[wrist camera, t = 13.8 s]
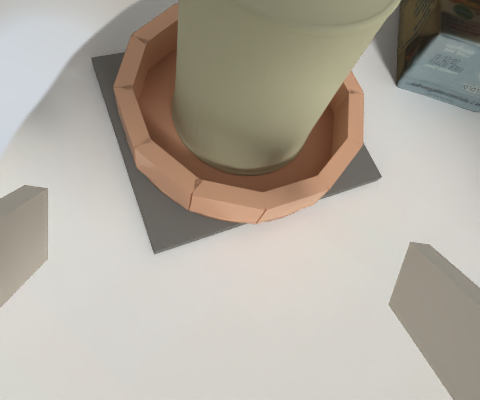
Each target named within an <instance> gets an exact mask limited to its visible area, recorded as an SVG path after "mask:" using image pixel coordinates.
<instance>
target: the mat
mask: <svg viewBox="0 0 480 400" xmlns="http://www.w3.org/2000/svg"><path fill="white" fill-rule="evenodd" d="M124 54H125V52H124V53H118V54H112V55H106V56H99V57H93V58H91V59H92V63H93V66H94V69H95V72H96V76H97V79H98V82H99V85H100V88H101V91H102V94H103V97H104V100H105V103H106V106H107V110H108V113H109V116H110V119H111V122H112V125H113V128H114V131H115V134H116V137H117V140H118V143H119V147H120V150H121V153H122V156H123V159H124V162H125V165H126V168H127V171H128V174H129V177H130V181H131V184H132V187H133V190H134V193H135V196H136V199H137V202H138V205H139V208H140V211H141V215H142V218H143V221H144V224H145V227H146V230H147V233H148V236H149V239H150V242H151V245H152V248H153V252H154V254H156V253H159V252H162V251H165V250H168V249H172V248H175V247H178V246H181V245H184V244H187V243H190V242H193V241H196V240H199V239H202V238H205V237H208V236H211V235H214V234H217V233H220V232H223V231H226V230H229V229H232V228H235V227H238V226H241V225H244V224H247V223H232V222H225V221H219V220H215V219H212V218H208V217H204V216H202V215H199V214H197V213H194V212H191V211H189V210H187V209H185V208H184V207H182V206H180V205H179V204H177V203H175V202H174V201H172V200H171V199H170V198H168V197H167V196H165V195H164V194H163V193H162V192H161V191H159V190H158V189H157V188H156V187H155V186H154V185H153V184H152V183H151V182H150V181H149V179H148V178H147V177H146V176H145V175H144V174H143V173H142V172H141V171H140V170H138V169H137V167H136V165H135V162H134V159H133V156H132V153H131V150H130V148H129V145H128V142H127V138H126V134H125V131H124V128H123V125H122V122H121V119H120V116H119V113H118V109H117V104H116V99H115V94H114V89H113V88H114V87H113V86H114V83H115V80H116V78H117V75H118V72H119V69H120V66H121V63H122V60H123V57H124ZM381 177H382V176H381V174H380V173H379V171H378V169H377V167H376V165H375V163H374V162H373V160H372V158H371V156H370V154H369V152H368V151H367V149H366V147H365V145H364V143H363V145H362V147H361V149H360V150H359V151H358V153H357V154H356V155H355V157H354V158H353V159H352V160H351V162H350V163H349V164H348V166H347V167H346V168H345V170H344V171H343V172H342V174H341V175H340V176H339V178H338V179H337V180H336V182H335V183H334V184H333V186H332V187H331V188H330V189H329V190H328V191H327V192H326V193H325V194H324V195H323V196H322V197H321V198H320V199H323V198H326V197H329V196H332V195H335V194H338V193H341V192H344V191H347V190H350V189H353V188H356V187H359V186H362V185H365V184H368V183H371V182H374V181H377V180H378V179H380V178H381ZM320 199H319V200H320Z"/></svg>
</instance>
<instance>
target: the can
mask: <svg viewBox="0 0 480 400" xmlns="http://www.w3.org/2000/svg"><path fill="white" fill-rule="evenodd" d="M400 2H401V0H179V4H178V33H177V59H176V79H175V91H174V94H173V98H172V107H171V108H172V118H173V123H174V126H175V129H176V131H177V133H178V135H179V137H180V139H181V140H182V142H183V143H184V145H185V146H186V147H187V148H188V149H189V150H190V152H192V153H193V154H194V155H195V156H196V157H197V158H198V159H200V160H201V161H203V162H204V163H206V164H207V165H209V166H211V167H213V168H215V169H217V170H220V171H223V172H226V173H230V174H234V175H241V176H255V175H263V174H268V173H271V172H274V171H276V170H278V169H281V168H282V167H284V166H286V165H287V164H289V163H290V162H291V161H292V160H294V159H295V158H296V156H297V155H298V154H299V153H300V152H301V150H302V148H303V147H304V145H305V143H306V140H307V137H308V135H309V133H310V132H311V130H312V129H313V127H314V125H315V124H316V122H317V121H318V119H319V118H320V116H321V115H322V113H323V112H324V110H325V109H326V107H327V106H328V104H329V103H330V101H331V100H332V98H333V97H334V95H335V94H336V92H337V91H338V89H339V88H340V86H341V85H342V83H343V82H344V80H345V79H346V77H347V76H348V74H349V73H350V71H351V70H352V68H353V67H354V65H355V64H356V63H357V61H358V60H359V58H360V57H361V55H362V54H363V52H364V51H365V49H366V48H367V46H368V45H369V43H370V42H371V41H372V39H373V38H374V36H375V35H376V33H377V32H378V30H379V29H380V28H381V26H382V25H383V24H384V22H385V21H386V19H387V18H388V17H389V16H390V15H391V14H392V13H393V11H394V10H395V9H396V8H397V6H398V5H399V3H400Z"/></svg>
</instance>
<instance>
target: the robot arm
mask: <svg viewBox="0 0 480 400" xmlns="http://www.w3.org/2000/svg"><path fill="white" fill-rule="evenodd" d="M47 259H48V188H41V187H34V186H28V185H24V186H22V187H21V188H19V189H17V190H15V191H13V192H12V193H10V194H8V195H6V196H4V197H2V198H1V199H0V308H1V307H2V306H3V305H4V304H5V302H6V301H7V300H8V299H9V298H10V297H11V296H12V295H13V294H14V293H15V292H16V291H17V290H18V289H19V288H20V287H21V286H22V285H23V284H24V283H25V282H26V281H27V280H28V279H29V278H30V277H31V276H32V275H33V274H34V273H35V272H36V271H37V270H38V269H39V268H40V267H41V266H42V265H43V264H44V263H45V262H46V260H47ZM389 306H390V307H391V309H392V310H393V312H394V313H395V315H396V316H397V318H398V319H399V321H400V322H401V324H402V325H403V327H404V328H405V329H406V331H407V332H408V334H409V335H410V337H411V338H412V340H413V341H414V343H415V344H416V346H417V347H418V349H419V350H420V351H421V353H422V354H423V356H424V357H425V359H426V360H427V362H428V363H429V365H430V366H431V368H432V369H433V371H434V372H435V373H436V375H437V376H438V378H439V379H440V381H441V382H442V384H443V385H444V387H445V388H446V390H447V391H448V393H449V394H450V395H451V397H452V398H453V400H480V288H479V287H478V286H477V285H476V284H475V283H473V282H472V281H471V280H470V279H469V278H468V277H466V276H465V275H464V274H463V273H462V272H461V271H460V270H458V269H457V268H456V267H455V266H454V265H453V264H451V263H450V262H449V261H448V260H447V259H446V258H444V257H443V256H442V255H441V254H440V253H439V252H438V251H436V250H435V249H434V248H433V247H432V246H431V245H428V244H421V243H414V242H410V244H409V247H408V250H407V253H406V256H405V258H404V261H403V264H402V267H401V270H400V273H399V276H398V279H397V282H396V285H395V287H394V290H393V293H392V296H391V299H390V302H389Z"/></svg>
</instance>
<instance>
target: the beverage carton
mask: <svg viewBox="0 0 480 400" xmlns="http://www.w3.org/2000/svg"><path fill="white" fill-rule="evenodd" d="M396 86H397V87H398V88H401V89H405V90H409V91H412V92H415V93H418V94H422V95H425V96H428V97H431V98H434V99H437V100H440V101H443V102H446V103H449V104H452V105H456V106H459V107H461V108H464V109H468V110H471V111H474V112H479V111H480V0H401V7H400V21H399V35H398V50H397V81H396Z"/></svg>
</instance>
